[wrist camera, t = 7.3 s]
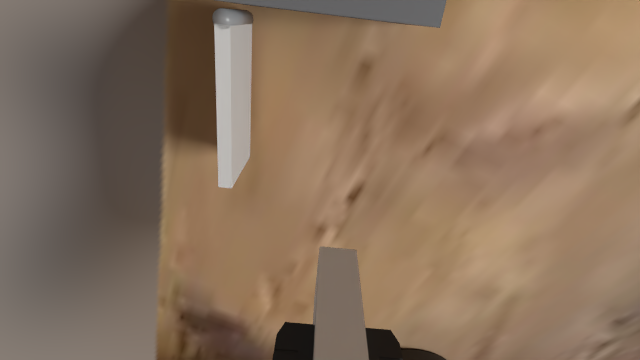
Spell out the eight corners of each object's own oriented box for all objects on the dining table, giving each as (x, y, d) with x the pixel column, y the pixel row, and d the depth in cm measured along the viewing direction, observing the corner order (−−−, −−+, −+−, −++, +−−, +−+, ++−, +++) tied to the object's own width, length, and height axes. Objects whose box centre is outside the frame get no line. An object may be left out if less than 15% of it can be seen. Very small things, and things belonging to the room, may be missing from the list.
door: (233, 155, 33) (211, 186, 27) (233, 8, 27) (205, 6, 21) (250, 157, 33) (232, 188, 27) (253, 11, 27) (231, 9, 21)
